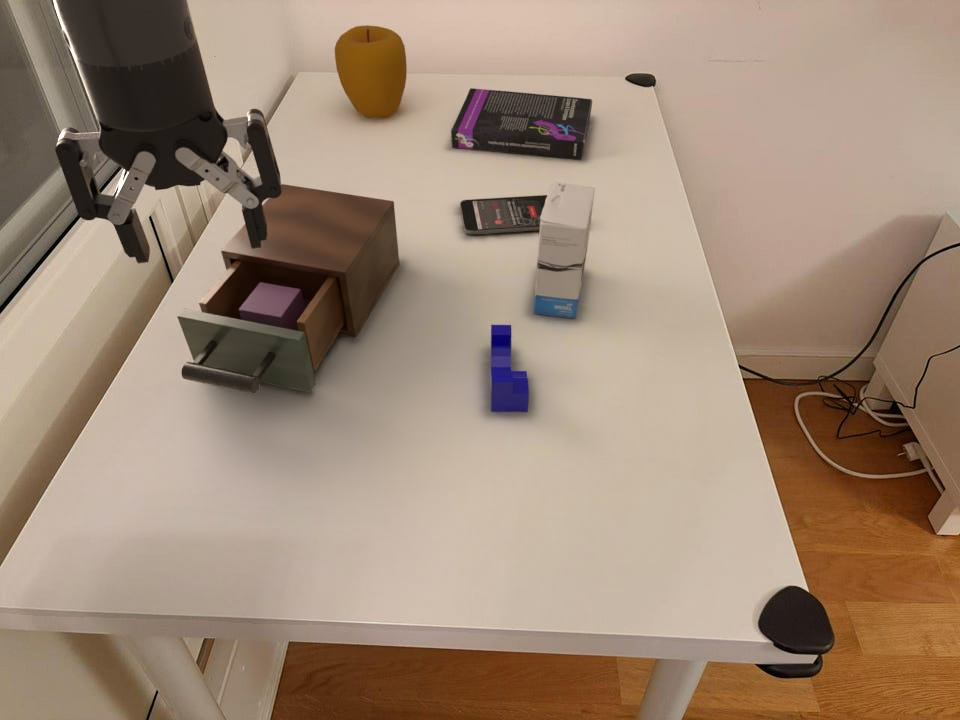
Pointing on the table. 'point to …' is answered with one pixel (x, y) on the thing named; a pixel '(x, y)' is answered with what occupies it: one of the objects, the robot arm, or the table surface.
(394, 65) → the apple
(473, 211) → the smartphone
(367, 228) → the cabinet
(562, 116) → the box
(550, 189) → the ink box
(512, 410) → the cable holder
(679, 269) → the table surface
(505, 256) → the table surface
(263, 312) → the block
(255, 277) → the drawer
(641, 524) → the table surface
